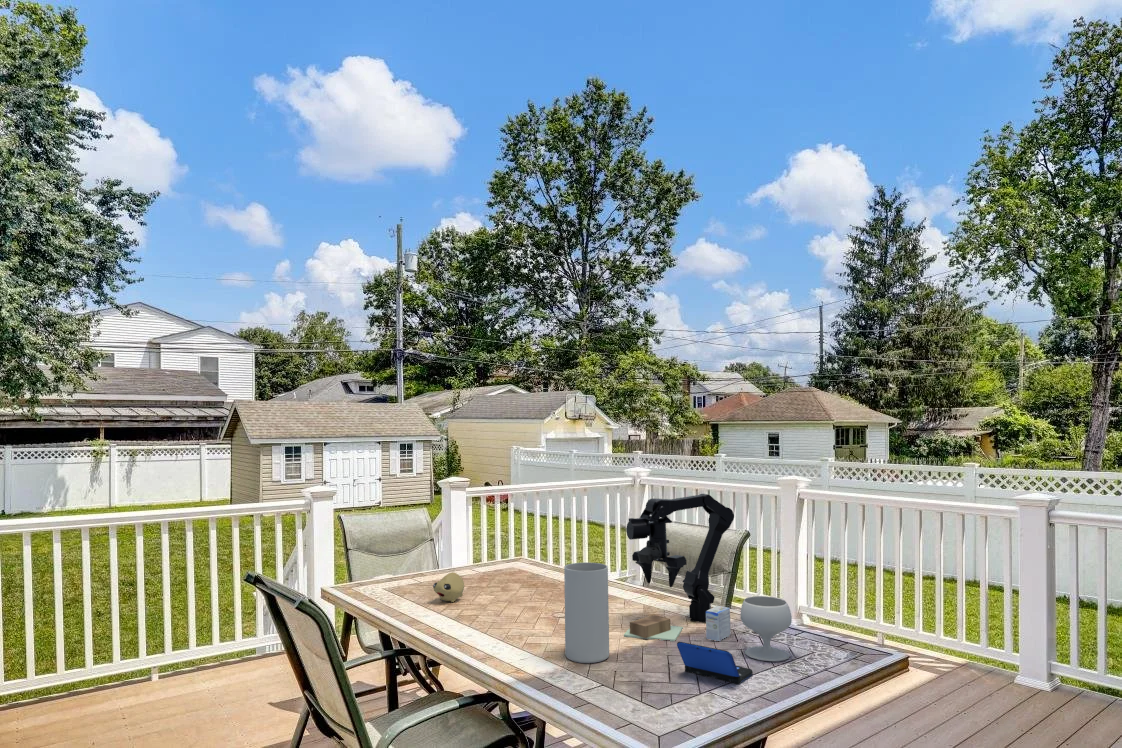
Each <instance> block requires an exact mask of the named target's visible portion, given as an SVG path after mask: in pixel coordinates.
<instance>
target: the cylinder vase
mask: <svg viewBox="0 0 1122 748" xmlns="http://www.w3.org/2000/svg"><path fill="white" fill-rule="evenodd" d="M563 571H564V572H563V573H564V579H563V580H564V641H565V642H564V651H565V653H564V654H565V657H566V658H567V659H568V660H570V661H572V662H574V663H580V664H594V663H595V664H596V663H600V662H604V661H605V660H606V659H608V658H609V657H610V624H609V623H610V621H609V619H610V618H609V615H610V614H609V613H610V611H609V607H610V606H609V566H608V565H607V564H605V563H599V562H590V561H589V562H574V563H569V564H568V563H567V564H566V565H564V569H563Z"/></svg>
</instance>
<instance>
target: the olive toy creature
mask: <svg viewBox="0 0 1122 748" xmlns="http://www.w3.org/2000/svg"><path fill="white" fill-rule="evenodd" d="M432 588H433V591H434V593H435V594H436V595H438V597H439V598H440V601H441V600H444V601H445V602H451V603H452V602H454V601H455V602H456V600H457V599H459V598H462V597H463V593H464V590H465V581H464V580H463V578H462V577H461V575H459V574H458V573H457V572H453V571H452V572H449V573H448V574H446V575H444V576H443V577H442V578H441V579H440V580H438V581H437V582H434V583H433V585H432ZM455 602H454V603H455Z"/></svg>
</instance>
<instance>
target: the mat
mask: <svg viewBox="0 0 1122 748" xmlns="http://www.w3.org/2000/svg"><path fill="white" fill-rule="evenodd" d="M682 629H683V630H684V626H678V625H677V626H676V625H671V630H669V631H666V632H663V633H660V634H657V635H654V636H651V637H648V638H644V637H640V636H637V635H633V634H630V627H629V628H628V629H627V630H625V631H626V632H625V633H623V638H624V637H625V638H634V639H646V640H653V639H661V640H660V641H663V640H670V641H669V642H673V641H675V640H677V639H678V638H679V636H680V635H681V633H682V632H683V630H682ZM677 637H678V638H677ZM675 642H676V641H675Z"/></svg>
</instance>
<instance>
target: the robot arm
mask: <svg viewBox="0 0 1122 748" xmlns="http://www.w3.org/2000/svg"><path fill="white" fill-rule="evenodd" d="M696 508H702V509H703V510H704V512H706V513H707V514H708V519H707V521H708V531H707V534H706V537H705V539H704V542H703V545H702V547H701V549H700V553H699V555H698V558H697V561H696V562H695V567H694V568H693V569H692V570H691V571H689V570H687V571H686V572H685V576H684V579H683V580H682V583H683V585H682V588H683V591H684V593H685V594H686V595H687V598H688V599H689V600H690V604H689V605H688V606H689V608H688V609H689V610H688V611H689V612H688V613H689V615H688V616H689V620H690V622H696V621H699V622H698V623H706V611H707V610H709V609H711V608H712V604H713V603H715V602H714V601H715V596H714V594H713V593H711V591H709V585H710V578H709V575H710V574H709V573H710V570H711V568H712V565H713V562H714V559H715V557H716V554H717V551H718V548H719V545H720V544H721V540H722V538H723V535H724V533H725V532H727V530H729V528H730V527H731V526H732V524H733V522H734V520H735V514H734V511H733V510H732V509H731V508H730V507H726V506H725V505H724V504H723V503H721V502H719V501H718V500H716V499H715V498H714V497H713V496H711V495H710V494H708V493H700V494H695V495H690V496H684V497H677V498H671V499H668V498H650V499H648V500H647V502H646V504H645V508H644V510H643V511H642V512H641V514H640V515H639V517H638V518H634V517H631V518H630V517H629V518H628V522H627V524H626V528H625V531H626V536H627V539H629V540H642V539H647V538H649V539H648V540H647V541H646V544H645V547H643V548H641V549H640V550H637V551H634V552H633V553H632V556H631V559H632V560H631V561H633V562H635V564H637V565H638V566H639V567H641V570H642V572H643V574H644V577H645V580H646V583H647V584H651V580H652V573H653V572H652V571H653V562H654V561H655V562H660V563H666V565H667V566H665V567H666V570H667V573H668V585H669V587H670V588H672V587H673V586H674V584H675V581H676V579H677V576H678V575H679V572H680V570H681V568H684V566H686V565H687V563H688V562H687V558H686V557H685V555H679V554H674V555H671V554H670V552H669V551H668V544H669V543H670V539H668V538H667V537H668V536H667V524H671V523H673V520H671V519H670V518H669V517H668V516H669V515H671V514H673V513H675V512H678V511H684V510H689V509H690V510H691V509H696Z"/></svg>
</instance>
